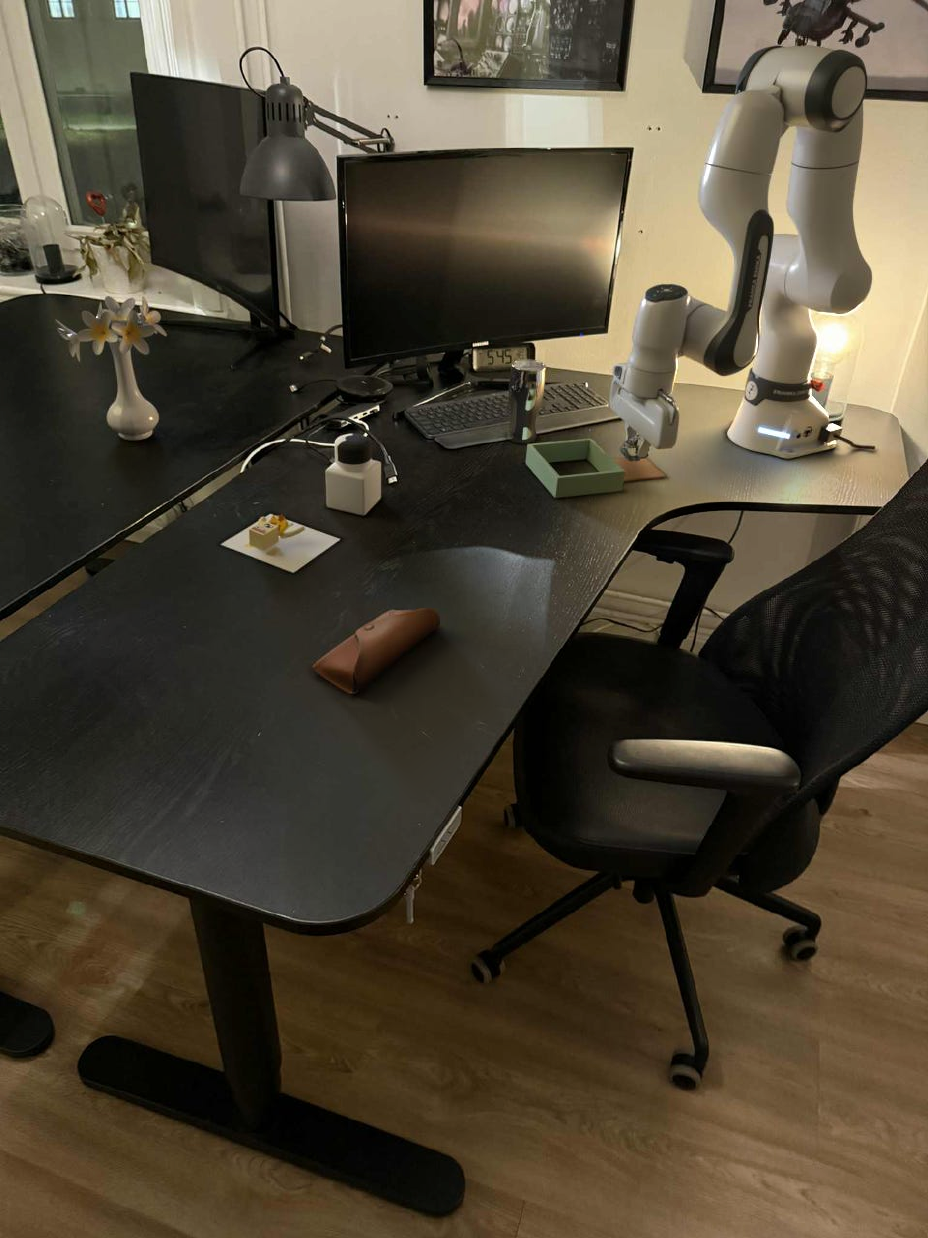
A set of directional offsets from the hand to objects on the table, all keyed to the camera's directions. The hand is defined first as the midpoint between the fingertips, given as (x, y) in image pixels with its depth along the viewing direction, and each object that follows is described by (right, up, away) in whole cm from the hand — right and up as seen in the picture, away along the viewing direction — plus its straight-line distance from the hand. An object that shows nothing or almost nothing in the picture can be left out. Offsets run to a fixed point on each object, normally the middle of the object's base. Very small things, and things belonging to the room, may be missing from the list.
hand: (635, 451), depth 164 cm
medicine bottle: (-52, -12, -15) cm, 55 cm away
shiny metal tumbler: (-21, +5, +11) cm, 24 cm away
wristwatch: (0, -2, +1) cm, 2 cm away
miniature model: (-62, -20, -27) cm, 70 cm away
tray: (-12, -5, -2) cm, 13 cm away
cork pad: (0, -3, +2) cm, 4 cm away
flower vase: (-96, +3, +1) cm, 96 cm away
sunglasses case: (-44, -36, -48) cm, 75 cm away
